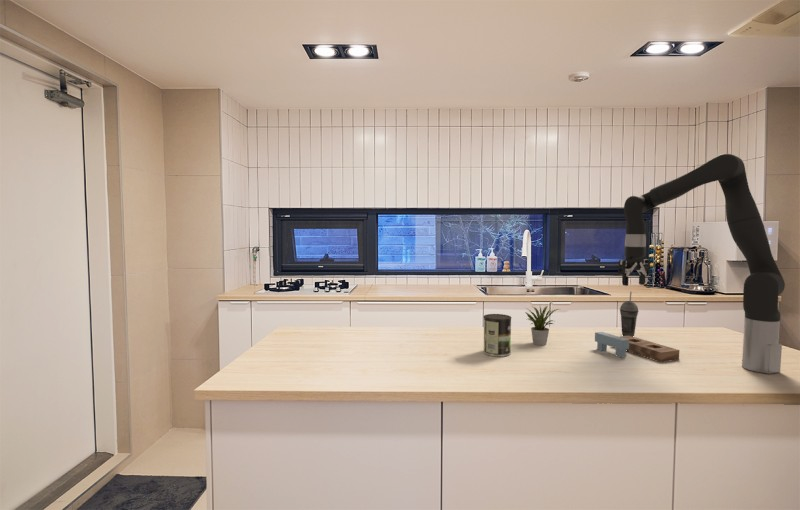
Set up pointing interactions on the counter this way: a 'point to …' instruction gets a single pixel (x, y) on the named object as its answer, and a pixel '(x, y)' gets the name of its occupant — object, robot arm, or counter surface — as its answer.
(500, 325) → the coffee can
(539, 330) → the house plant
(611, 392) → the counter surface
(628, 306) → the beverage cup
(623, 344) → the grey bridge block
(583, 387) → the counter surface
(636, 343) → the brown wooden slab
